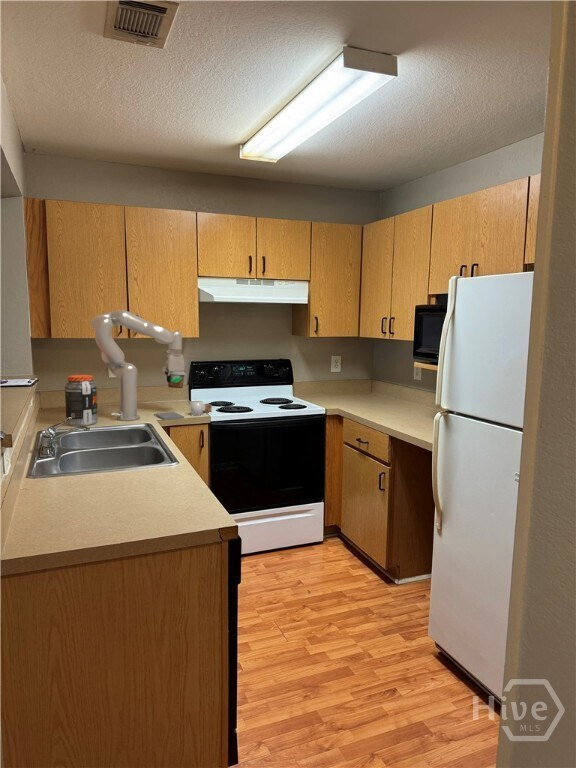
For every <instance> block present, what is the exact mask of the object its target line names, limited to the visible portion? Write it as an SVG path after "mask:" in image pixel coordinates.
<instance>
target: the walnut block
mask: <svg viewBox="0 0 576 768" xmlns="http://www.w3.org/2000/svg"><path fill="white" fill-rule="evenodd" d="M204 404H205V410H204V411H203V414H204V413H206V414H210V413H209V412H212V411H213V405H212V404H210V403H204ZM212 413H213V412H212Z"/></svg>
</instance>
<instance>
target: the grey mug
mask: <svg viewBox="0 0 576 768" xmlns="http://www.w3.org/2000/svg"><path fill="white" fill-rule="evenodd" d="M205 404H206V403H204V401H202V400H192V401H190V416H191V415H193V416H192V417H202V416H203V415H204V413H203V411H204V410H205ZM201 415H202V416H201Z"/></svg>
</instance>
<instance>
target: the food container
mask: <svg viewBox="0 0 576 768" xmlns="http://www.w3.org/2000/svg"><path fill="white" fill-rule="evenodd" d="M185 376H186V373H185V372H183V371H174V372H171V373H170V383H168V382H167V383H168V384H167V387H168V388H173V389H183V386H184V381H185Z"/></svg>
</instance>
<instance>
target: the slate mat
mask: <svg viewBox="0 0 576 768" xmlns="http://www.w3.org/2000/svg"><path fill="white" fill-rule="evenodd" d="M155 415H156V416H155ZM153 416H155V417H157V418H158V419H160V420H162V421H169V420H178V419H185V416H184V415H182V414H180V413H177V412H175V411H169V412H160V413H159V412H158V413H154V415H153Z"/></svg>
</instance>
